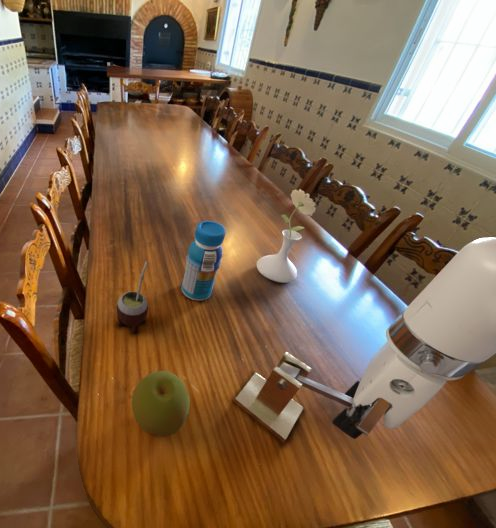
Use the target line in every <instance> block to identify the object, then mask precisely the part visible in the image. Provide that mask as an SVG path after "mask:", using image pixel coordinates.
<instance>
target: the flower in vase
mask: <svg viewBox="0 0 496 528" xmlns="http://www.w3.org/2000/svg"><path fill="white" fill-rule="evenodd" d="M289 196H290V199H291V201H292V204H293V206H295V209H294V210H293V212H292V213H291V215H290V217H288V216H287V214H281V215H279V216H280V218H282V219H283V220H284V222H285V223H286V224H288V226H289V227H288V228H289V229H283V230H282V232H281V234H282V237H283V239H282V244H281V248H280V249H279V251H278V252H277V253H276V254H268V255H264V256H261V257H260V258H259V259H258V260H257V261H256V269H257V270H258V272H259V274H261V275H262V276H263V277H264V278H266V279H267V280H269V281H272V282H275V283H281V284H286V283H290V282H293V281H294V280H296V279H297V276H298V270H297V268H296V267H295V265H294V264H293V262H292V261H291V260H290V259H289V257H288V255H289V254H290V251H291V249H292V247H293V246H294V244H295V243H296V242H298V241H300V240H302V238H303V236H302V234H301V233H300V232H298V231H301V230H303V229H305V226H300V225H299V226H298V225H297V226H293V227H292V226H291V224H292V223H291V220H292V217H293V215H294V214H295V213H296V212H297V210H298V212H300V213H301V214H303V215H305V216H310V217H313V215H315V213H316V210H317V207H315V206H316V202H314V199H313V198H310V196H311V195H310V194H309V193H305V191H304V190H302V189H301V188H299V189H294V190H293V189H292V190H291V193H290V195H289Z"/></svg>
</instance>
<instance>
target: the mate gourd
mask: <svg viewBox="0 0 496 528" xmlns="http://www.w3.org/2000/svg"><path fill="white" fill-rule="evenodd" d="M148 263H149V261H148V260H146V261H145V262H144V265H143V267H142V270H141V273H140V276H139V282H138V288H137V291H134V290H133V291H132V290H131V291H127V292H125V293H123V294H122V295H121V296H120V297H119V298H118V301H117V304H116V318H117V320H118V322H117V325H118V327H124V326H127V327H130V329H131V330H130V331H131V333H132V334H133V335H134V334H137V331H136V327H138V326H139V325H141V324H143V323H144V324H145V322H146V320H145V319H146V318H147V316H148V312H149V305H148V301H147V299H146V298H145V297H144V295H143V294H142V293H141V289H142V285H143V281H144V278H145V272H146V269H147V266H148Z"/></svg>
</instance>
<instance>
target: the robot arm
mask: <svg viewBox="0 0 496 528" xmlns="http://www.w3.org/2000/svg"><path fill="white" fill-rule="evenodd" d="M385 337H386V342H385V343H384V344H383V345H382V346H381V347H380V348H379V350H377V352H375V354H374V355H373V356H372V357H371V358H370V360H369V362H368V363H367V365H366V367H365V369H364V372H363V374H362V376H361V377H360V379H359V380H356V381H355V382H354V383H353V384H352V385H351V386H350V387H349V388H348V389H347V390H346V391H345V393H344V394H345V395H347V396H349V397H352V398H353V401H354V404H353V405H352V406H351V407H344V409H342V410H341V411H340V412H339V413H338V414H337V415H336V416H335V417H334V418H332V422H331V424H333V426H335V427H337V428H338V429H340V431H342V432H343V433H344V434H345V435H347V436H349V437H351V439H354V440H356V439H358V438H359V437H360V436H361V435H363V434H364V435H365V436H369V434H370V433H371V432H372V431H373V430H374V428H375V427H376V426H377V424H378V422H379V421H380V420H381V419H382V417H383V423H382V426H384V427H385V428H387V429H388V430H396V429H397V428H399V427H400V426H402V425H403V424H404V423H405V422H407V421H408V420H409V419H410V418H412V416H414V415H415V414H416V413H418V412H419V411H420V410H421V409H422V408H423V407H424V406H426V404H428V403H429V402H430V401H431V400H432V399H433V398H434V397H435V396H436V395H437V394H438V393H439V392H440V391H441V389H442V388H443V387H444V386H445V384H446V383H447V381H457V380H460V379H462V378H463V377H464V376H466V375H467V374H469V373H470V372H472V371H473V370H474V369H476V368H477V367H479V366H480V365H481V364H483V363H484V362H486V361H487V360H488V359H490V358H492V357H493V356H494V355H496V237H481V238H478V239H475V240H473V241H470V242H468V243H467V244H466V245H464V246H463V247H462V248H461V249H460V250H459V251H458V252H457V253H456V254H455V255H454V256H453V257H452V258H451V260H449V261H448V263H447V264H446V265H445V266H443V268H442V269H441V270H440V271H439V272H438V273H437V275H436V276H435V277H434V278H433V279H432V280H431V281H429V283H428V284H427V285H426V286H425V288H423V289H422V290H421V292H420V293H418V295H417V296H416V297H415V298H414V299H413V300H412V301H411V303H410V304H408V306H406V307H405V309H404V310H403V311H402V312H401V313H400V314H399V315H398V316H397V317H396V319H395V320H394V321H392V323H391V324H390V325H389V326H388V327H387V329H386V331H385ZM360 407H361V408H363V409H364V410H366V411H365V413H364V415H363V416H362V415H361V414H359V413H358V412H356V411H357V410H358V409H359V408H360Z"/></svg>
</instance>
